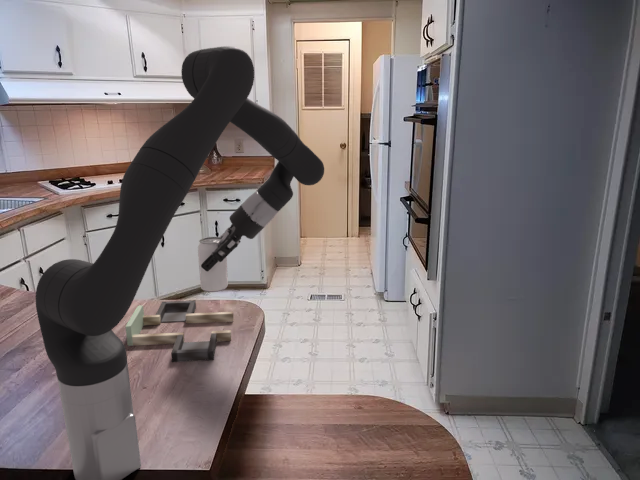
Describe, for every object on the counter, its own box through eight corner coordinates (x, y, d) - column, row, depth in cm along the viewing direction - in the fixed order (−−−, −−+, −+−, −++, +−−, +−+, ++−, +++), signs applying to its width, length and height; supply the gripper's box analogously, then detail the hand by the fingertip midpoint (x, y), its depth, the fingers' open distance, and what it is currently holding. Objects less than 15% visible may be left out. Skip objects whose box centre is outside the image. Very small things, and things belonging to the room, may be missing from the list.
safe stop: (144, 323, 117) (143, 305, 115) (133, 345, 106) (130, 326, 104) (140, 323, 117) (138, 305, 115) (127, 345, 106) (125, 326, 104)
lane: (235, 306, 127) (235, 298, 127) (228, 359, 101) (228, 350, 100) (147, 309, 124) (146, 302, 124) (116, 365, 98) (115, 356, 97)
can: (221, 293, 106) (218, 244, 103) (196, 291, 108) (192, 242, 104) (232, 283, 113) (229, 237, 109) (207, 281, 114) (204, 235, 110)
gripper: (243, 197, 112) (197, 244, 114) (241, 210, 98) (188, 263, 100) (265, 218, 114) (220, 264, 116) (266, 233, 101) (214, 285, 102)
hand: (205, 263), depth 108 cm, fingers closed on can, 6 cm apart
